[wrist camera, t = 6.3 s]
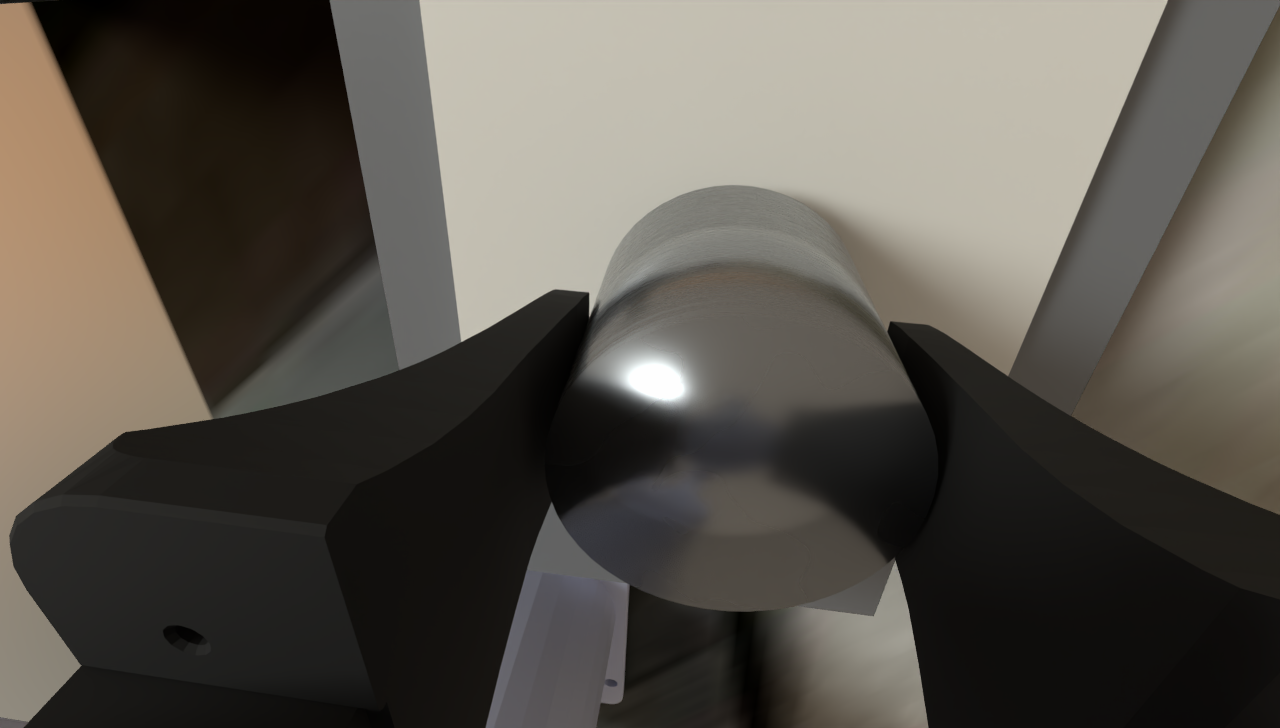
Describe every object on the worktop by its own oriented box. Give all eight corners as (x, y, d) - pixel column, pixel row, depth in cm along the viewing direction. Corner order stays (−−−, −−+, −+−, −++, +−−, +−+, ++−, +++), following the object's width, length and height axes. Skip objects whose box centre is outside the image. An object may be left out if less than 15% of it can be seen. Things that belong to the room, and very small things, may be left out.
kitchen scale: (977, 498, 18) (1059, 675, 14) (446, 436, 20) (359, 579, 15) (1401, -447, 9) (2146, -911, 4) (313, -445, 10) (-42, -800, 5)
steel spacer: (822, 428, 14) (870, 633, 9) (593, 397, 14) (541, 584, 10) (893, 204, 11) (1007, 349, 7) (610, 167, 11) (548, 288, 7)
